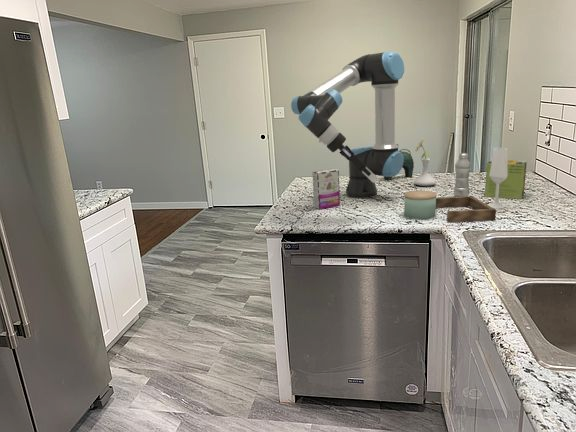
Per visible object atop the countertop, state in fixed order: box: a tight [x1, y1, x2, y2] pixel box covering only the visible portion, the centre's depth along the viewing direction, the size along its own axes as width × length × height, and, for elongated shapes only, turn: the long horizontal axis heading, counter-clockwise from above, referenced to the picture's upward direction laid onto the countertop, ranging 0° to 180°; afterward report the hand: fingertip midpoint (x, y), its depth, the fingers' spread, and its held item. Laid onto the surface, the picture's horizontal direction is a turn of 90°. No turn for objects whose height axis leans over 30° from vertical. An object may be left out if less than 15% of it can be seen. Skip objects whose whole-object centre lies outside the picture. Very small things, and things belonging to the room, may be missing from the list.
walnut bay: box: [436, 195, 497, 223], centre depth 175 cm, size 18×23×4 cm
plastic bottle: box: [453, 152, 471, 197], centre depth 199 cm, size 6×7×20 cm
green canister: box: [403, 190, 437, 220], centre depth 175 cm, size 12×12×9 cm
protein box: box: [484, 159, 528, 200], centre depth 198 cm, size 10×15×16 cm
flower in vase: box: [413, 137, 437, 187], centre depth 226 cm, size 13×11×25 cm
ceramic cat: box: [383, 143, 415, 182], centre depth 249 cm, size 20×6×20 cm, turn 114°
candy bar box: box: [312, 168, 341, 210], centre depth 195 cm, size 11×5×16 cm, turn 118°
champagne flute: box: [487, 147, 508, 209], centre depth 180 cm, size 7×7×24 cm
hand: (375, 180), depth 173 cm, fingers closed
